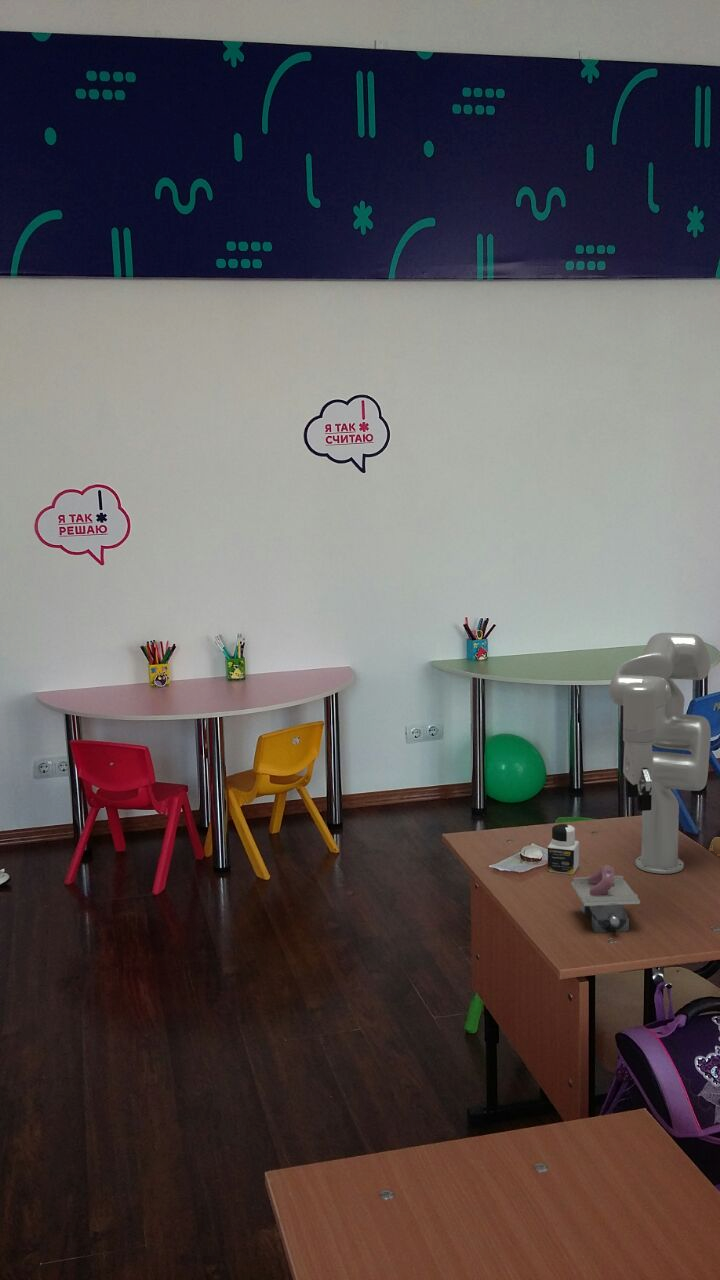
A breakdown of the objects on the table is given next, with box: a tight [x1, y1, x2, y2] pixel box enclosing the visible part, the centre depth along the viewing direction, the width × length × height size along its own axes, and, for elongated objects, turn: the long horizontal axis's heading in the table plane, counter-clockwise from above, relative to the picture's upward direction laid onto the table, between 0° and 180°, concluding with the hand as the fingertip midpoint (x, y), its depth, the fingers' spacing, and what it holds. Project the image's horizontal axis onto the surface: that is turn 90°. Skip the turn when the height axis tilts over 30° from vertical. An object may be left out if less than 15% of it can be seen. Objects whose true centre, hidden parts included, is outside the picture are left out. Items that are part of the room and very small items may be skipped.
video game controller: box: [589, 863, 615, 896], centre depth 264 cm, size 10×5×7 cm, turn 169°
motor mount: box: [570, 875, 641, 933], centre depth 263 cm, size 16×13×9 cm
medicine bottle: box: [547, 823, 580, 875], centre depth 299 cm, size 7×7×12 cm
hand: (638, 803), depth 267 cm, fingers open, 9 cm apart
